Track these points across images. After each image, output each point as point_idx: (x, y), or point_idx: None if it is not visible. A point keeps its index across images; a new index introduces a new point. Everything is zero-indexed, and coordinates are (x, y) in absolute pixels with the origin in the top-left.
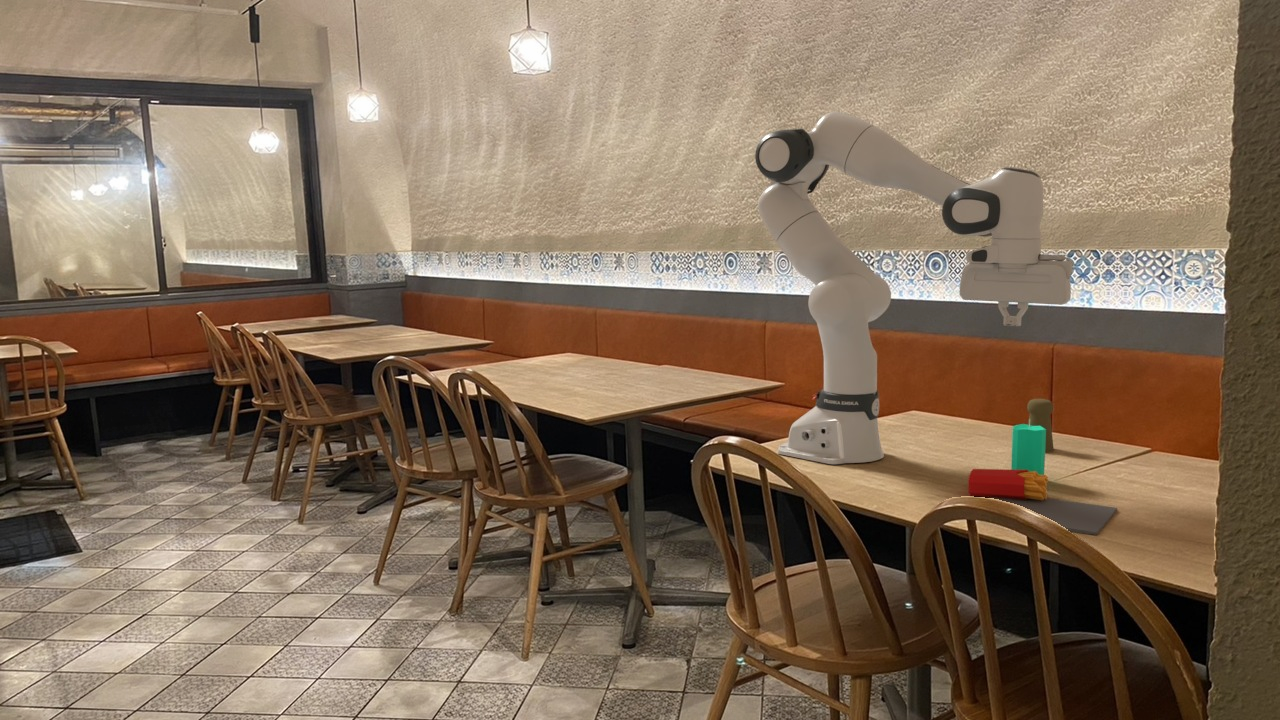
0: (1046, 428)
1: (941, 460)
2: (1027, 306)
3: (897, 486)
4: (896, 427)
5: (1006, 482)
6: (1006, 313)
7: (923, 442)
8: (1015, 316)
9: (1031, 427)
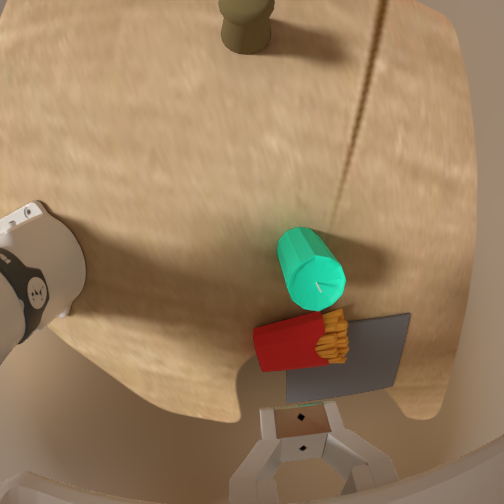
0: (264, 29)
1: (144, 204)
2: (388, 471)
3: (175, 358)
4: (16, 57)
5: (308, 367)
6: (273, 467)
7: (73, 110)
8: (315, 441)
9: (314, 261)
